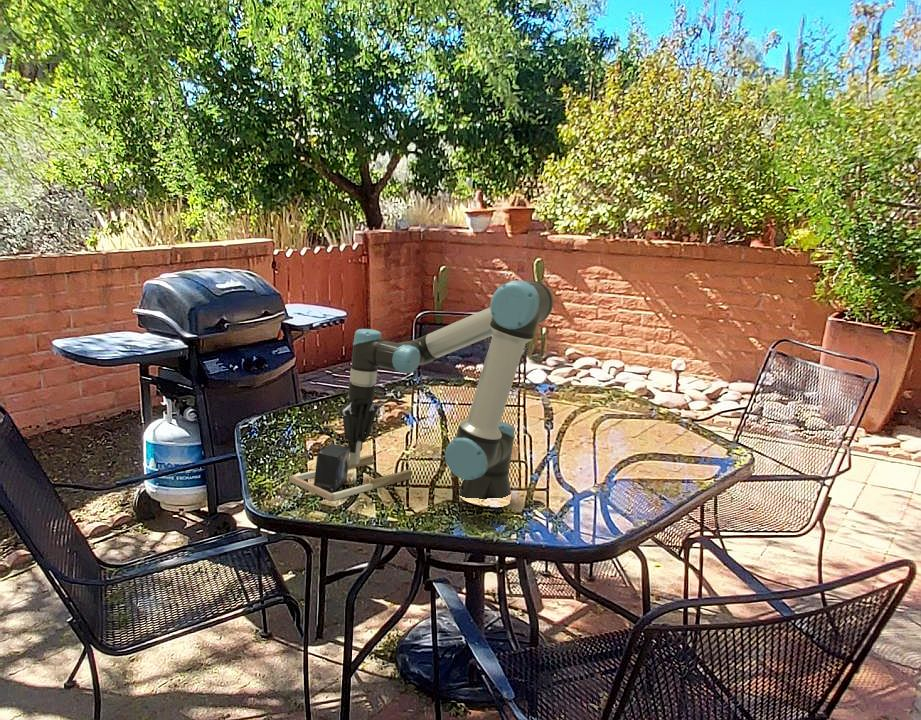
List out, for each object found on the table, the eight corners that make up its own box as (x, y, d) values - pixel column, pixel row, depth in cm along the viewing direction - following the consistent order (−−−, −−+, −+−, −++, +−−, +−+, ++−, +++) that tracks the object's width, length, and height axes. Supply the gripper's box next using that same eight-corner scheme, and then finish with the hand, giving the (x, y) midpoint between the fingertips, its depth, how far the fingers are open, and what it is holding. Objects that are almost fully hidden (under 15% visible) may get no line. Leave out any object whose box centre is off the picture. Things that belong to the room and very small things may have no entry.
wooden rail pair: (411, 478, 223) (411, 470, 223) (373, 489, 211) (374, 480, 210) (370, 462, 234) (370, 454, 233) (331, 471, 221) (332, 463, 221)
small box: (335, 493, 204) (338, 456, 202) (312, 488, 205) (316, 452, 203) (348, 481, 214) (351, 446, 213) (326, 477, 216) (330, 442, 214)
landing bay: (372, 489, 211) (373, 484, 210) (330, 500, 198) (331, 495, 198) (330, 471, 221) (331, 466, 221) (289, 481, 209) (289, 476, 208)
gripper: (369, 378, 219) (361, 455, 223) (336, 382, 209) (328, 462, 213) (387, 384, 214) (379, 462, 219) (355, 388, 204) (346, 470, 208)
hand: (354, 462), depth 216 cm, fingers closed
